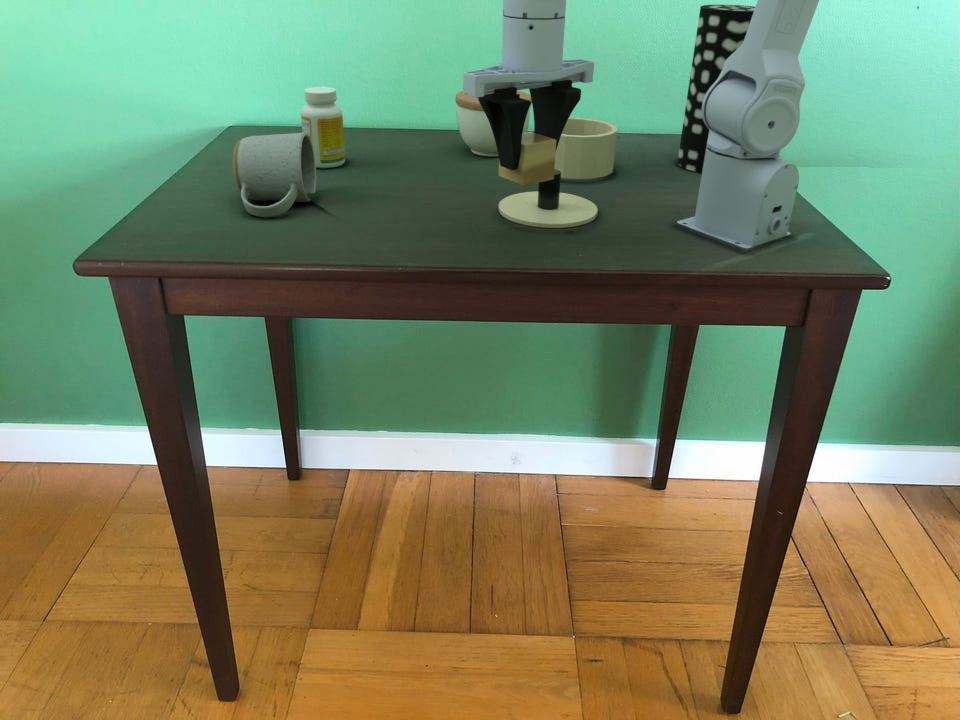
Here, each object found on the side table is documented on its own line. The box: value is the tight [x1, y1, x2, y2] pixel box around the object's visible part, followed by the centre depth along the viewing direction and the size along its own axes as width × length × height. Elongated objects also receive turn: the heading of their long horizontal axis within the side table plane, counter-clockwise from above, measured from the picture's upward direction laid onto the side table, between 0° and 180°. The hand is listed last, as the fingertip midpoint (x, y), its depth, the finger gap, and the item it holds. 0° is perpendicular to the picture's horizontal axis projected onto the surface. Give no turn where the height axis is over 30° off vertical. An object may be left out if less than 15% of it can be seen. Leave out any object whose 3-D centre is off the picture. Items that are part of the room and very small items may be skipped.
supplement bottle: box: [300, 86, 346, 169], centre depth 102 cm, size 5×5×10 cm
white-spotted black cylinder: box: [676, 4, 756, 174], centre depth 102 cm, size 8×8×20 cm
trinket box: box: [455, 90, 532, 157], centre depth 109 cm, size 11×11×9 cm
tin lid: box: [497, 169, 599, 229], centre depth 86 cm, size 11×11×5 cm
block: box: [498, 131, 556, 187], centre depth 77 cm, size 4×4×4 cm
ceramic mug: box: [232, 132, 317, 218], centre depth 87 cm, size 11×8×8 cm
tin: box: [554, 117, 618, 180], centre depth 102 cm, size 10×10×6 cm
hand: (526, 163), depth 77 cm, fingers closed on block, 4 cm apart
